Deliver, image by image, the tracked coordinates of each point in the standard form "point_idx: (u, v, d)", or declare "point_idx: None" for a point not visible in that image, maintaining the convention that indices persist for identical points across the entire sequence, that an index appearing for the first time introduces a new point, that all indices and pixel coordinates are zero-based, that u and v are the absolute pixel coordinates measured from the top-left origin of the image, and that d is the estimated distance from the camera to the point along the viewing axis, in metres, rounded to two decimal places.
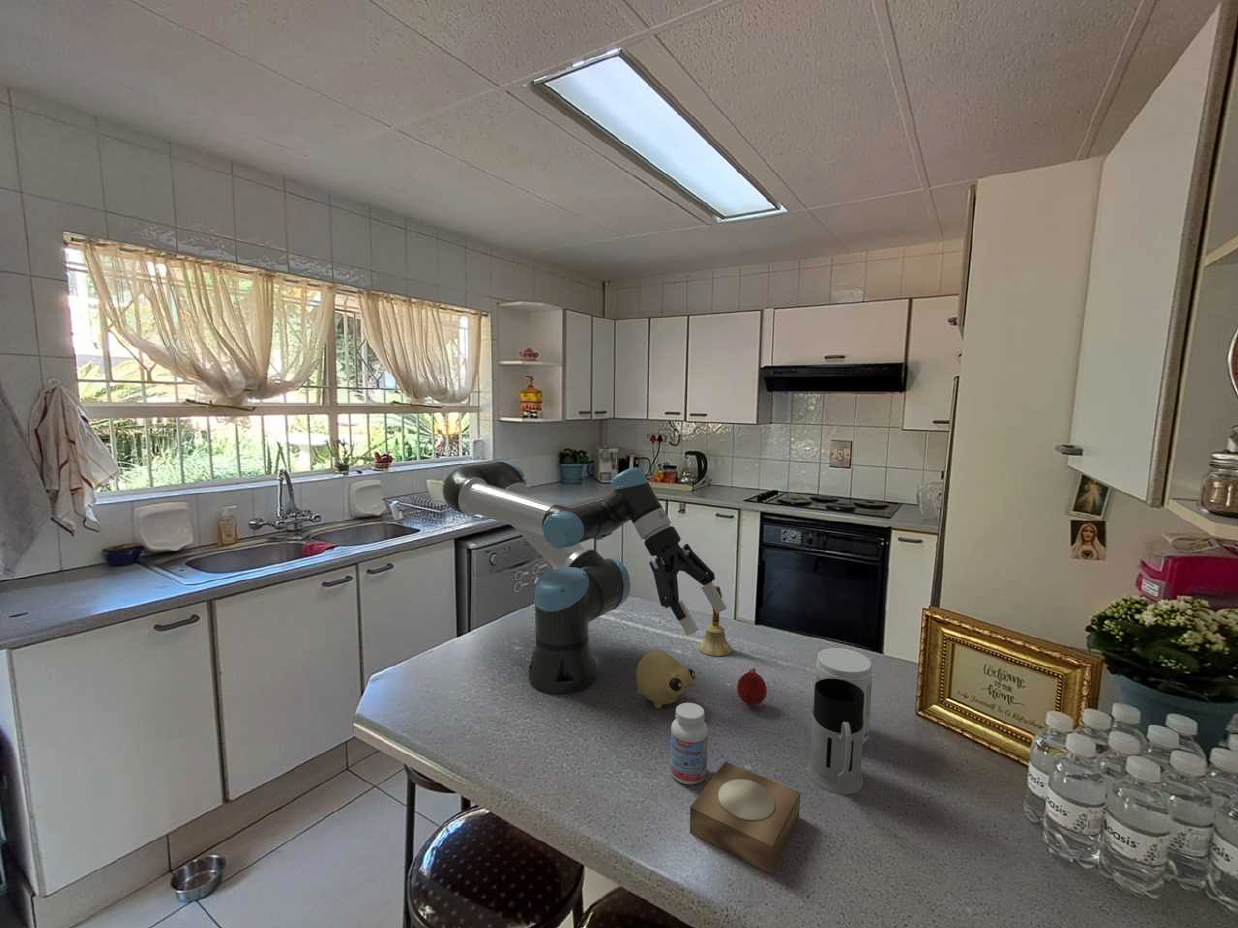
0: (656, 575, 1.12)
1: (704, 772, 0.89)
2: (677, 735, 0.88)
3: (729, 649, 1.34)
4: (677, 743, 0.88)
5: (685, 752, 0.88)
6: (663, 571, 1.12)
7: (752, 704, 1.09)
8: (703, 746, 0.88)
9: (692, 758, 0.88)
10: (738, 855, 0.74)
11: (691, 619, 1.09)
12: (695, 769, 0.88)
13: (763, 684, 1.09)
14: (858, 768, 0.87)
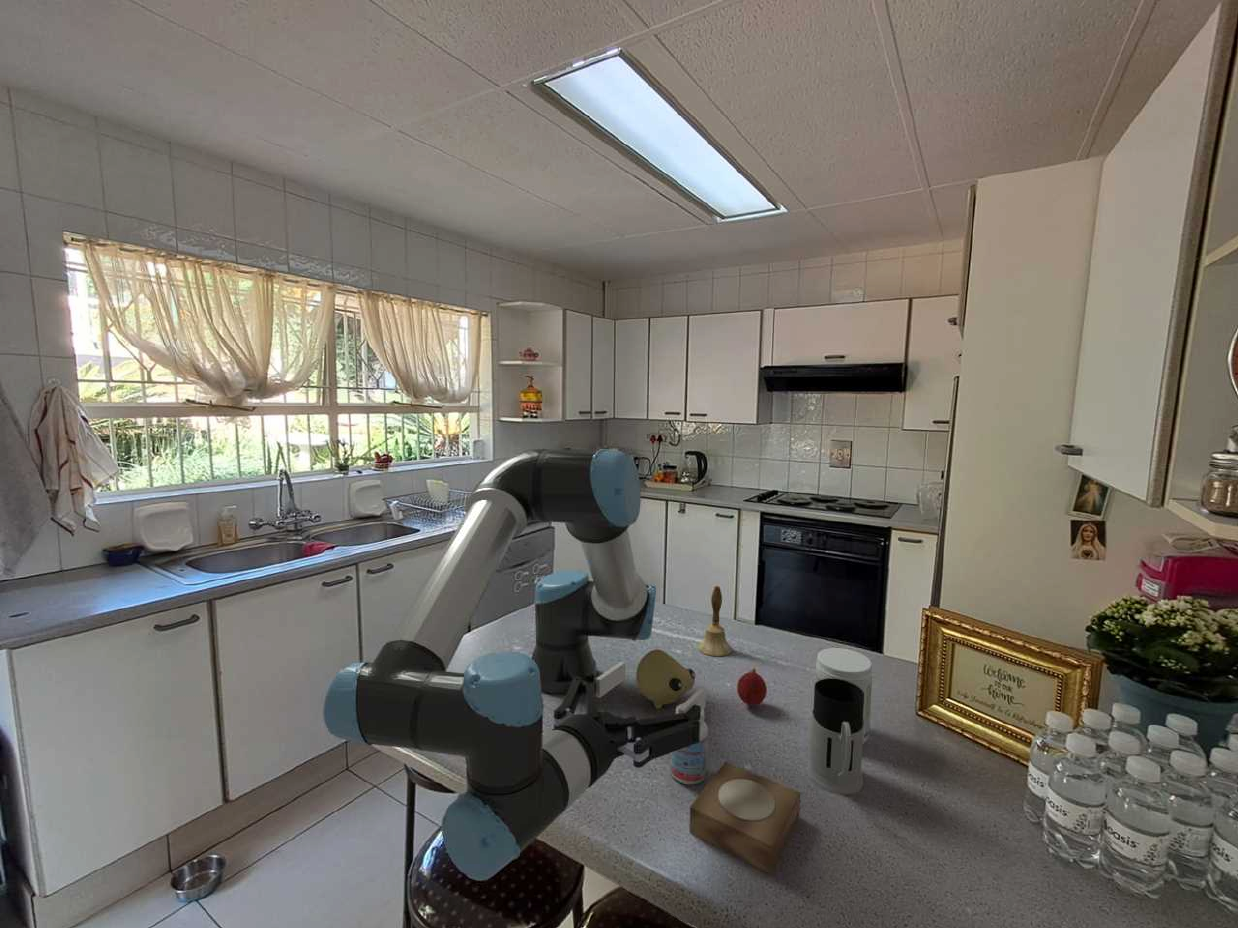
0: None
1: (704, 772, 0.89)
2: None
3: (729, 649, 1.34)
4: None
5: (685, 752, 0.88)
6: None
7: (752, 704, 1.09)
8: (703, 746, 0.88)
9: (692, 758, 0.88)
10: (738, 855, 0.74)
11: None
12: (695, 769, 0.88)
13: (763, 684, 1.09)
14: (858, 768, 0.87)
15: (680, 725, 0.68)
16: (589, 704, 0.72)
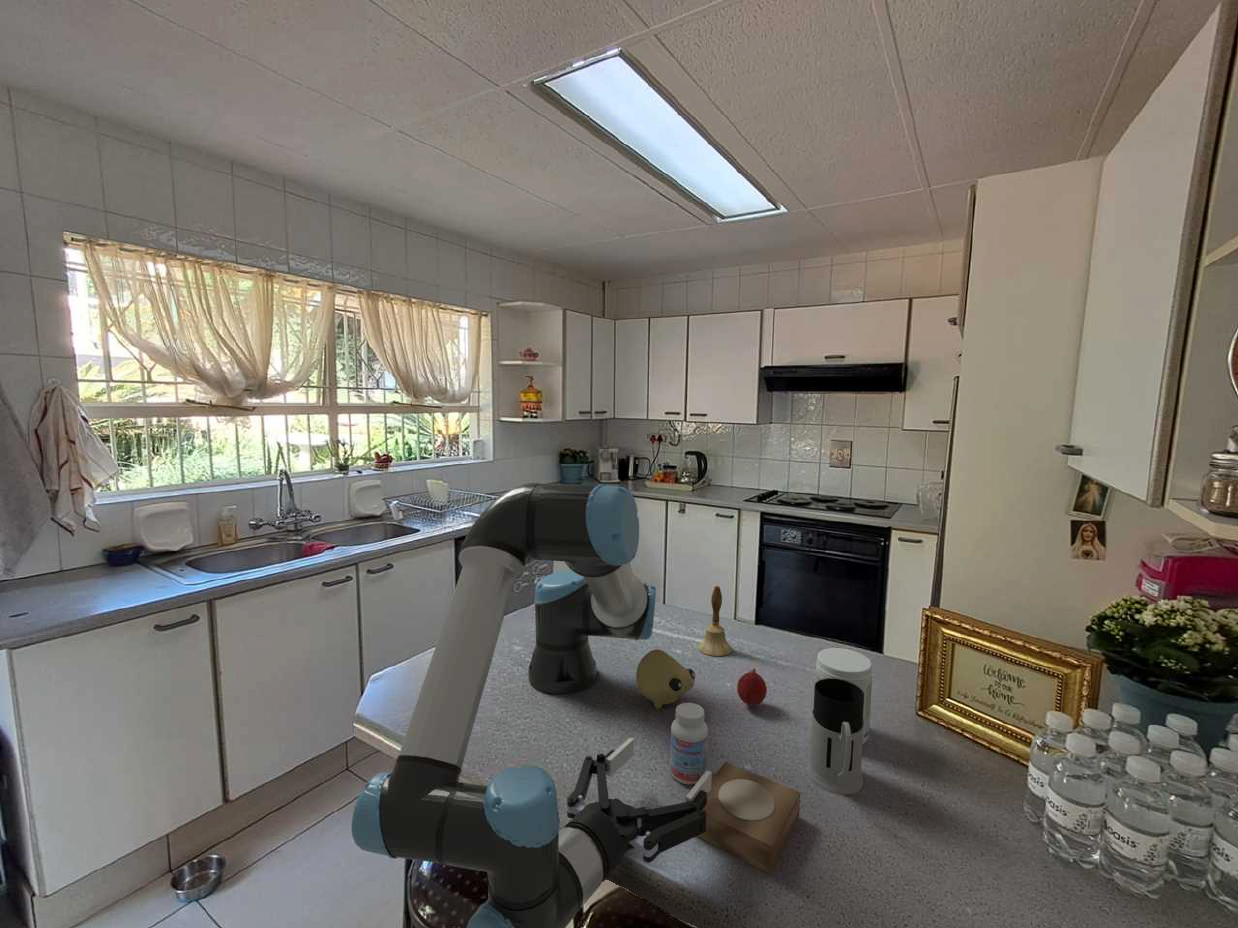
0: None
1: (704, 772, 0.89)
2: (677, 734, 0.88)
3: (729, 649, 1.34)
4: (677, 743, 0.88)
5: (685, 752, 0.88)
6: None
7: (752, 704, 1.09)
8: (703, 746, 0.88)
9: (692, 758, 0.88)
10: (738, 855, 0.74)
11: None
12: (695, 769, 0.88)
13: (763, 684, 1.09)
14: (858, 768, 0.87)
15: (687, 816, 0.72)
16: (600, 791, 0.76)
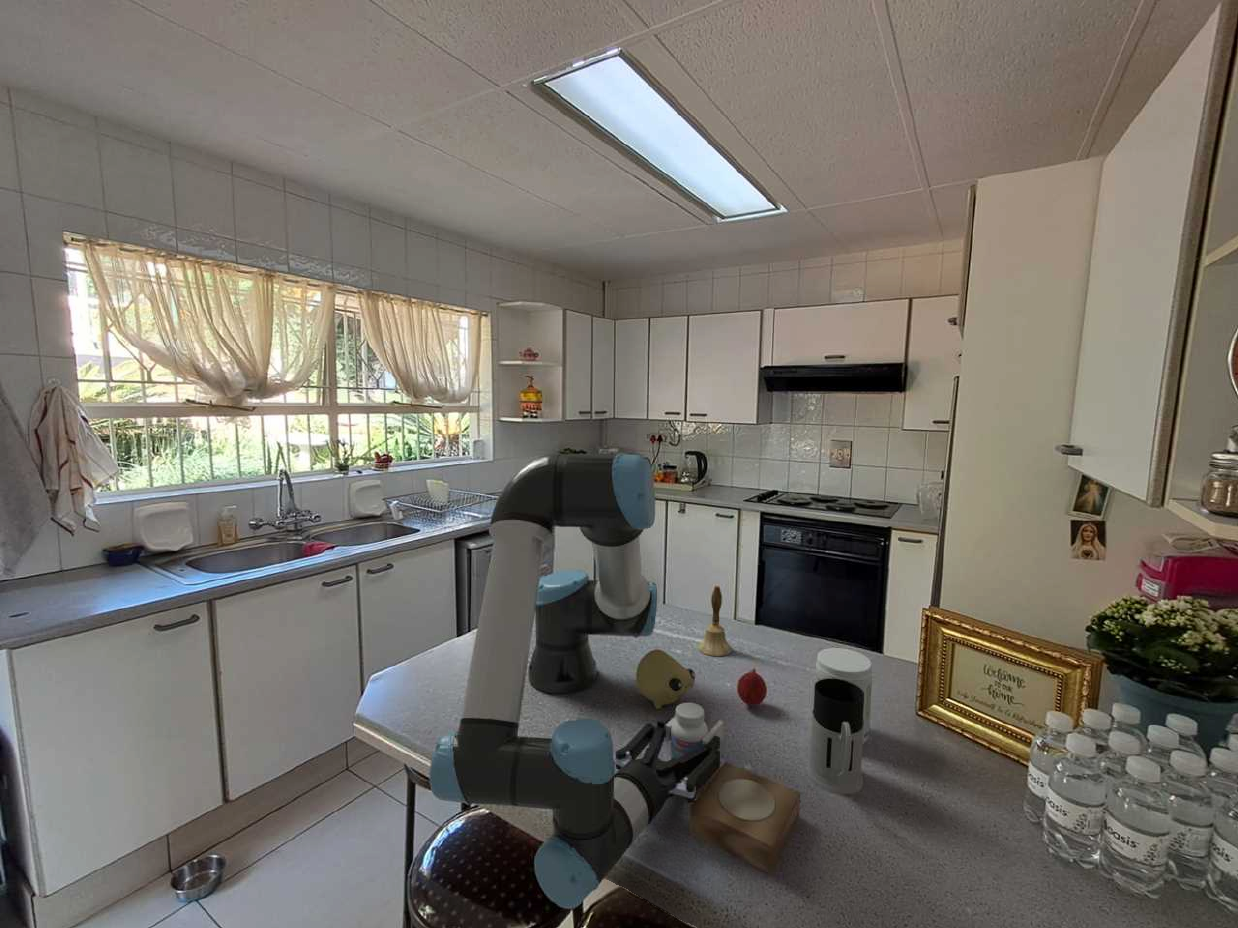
0: None
1: None
2: (677, 734, 0.88)
3: (729, 649, 1.34)
4: (677, 743, 0.88)
5: (685, 752, 0.88)
6: None
7: (752, 704, 1.09)
8: None
9: None
10: (738, 855, 0.74)
11: None
12: None
13: (763, 684, 1.09)
14: (858, 768, 0.87)
15: (707, 757, 0.83)
16: (647, 750, 0.84)
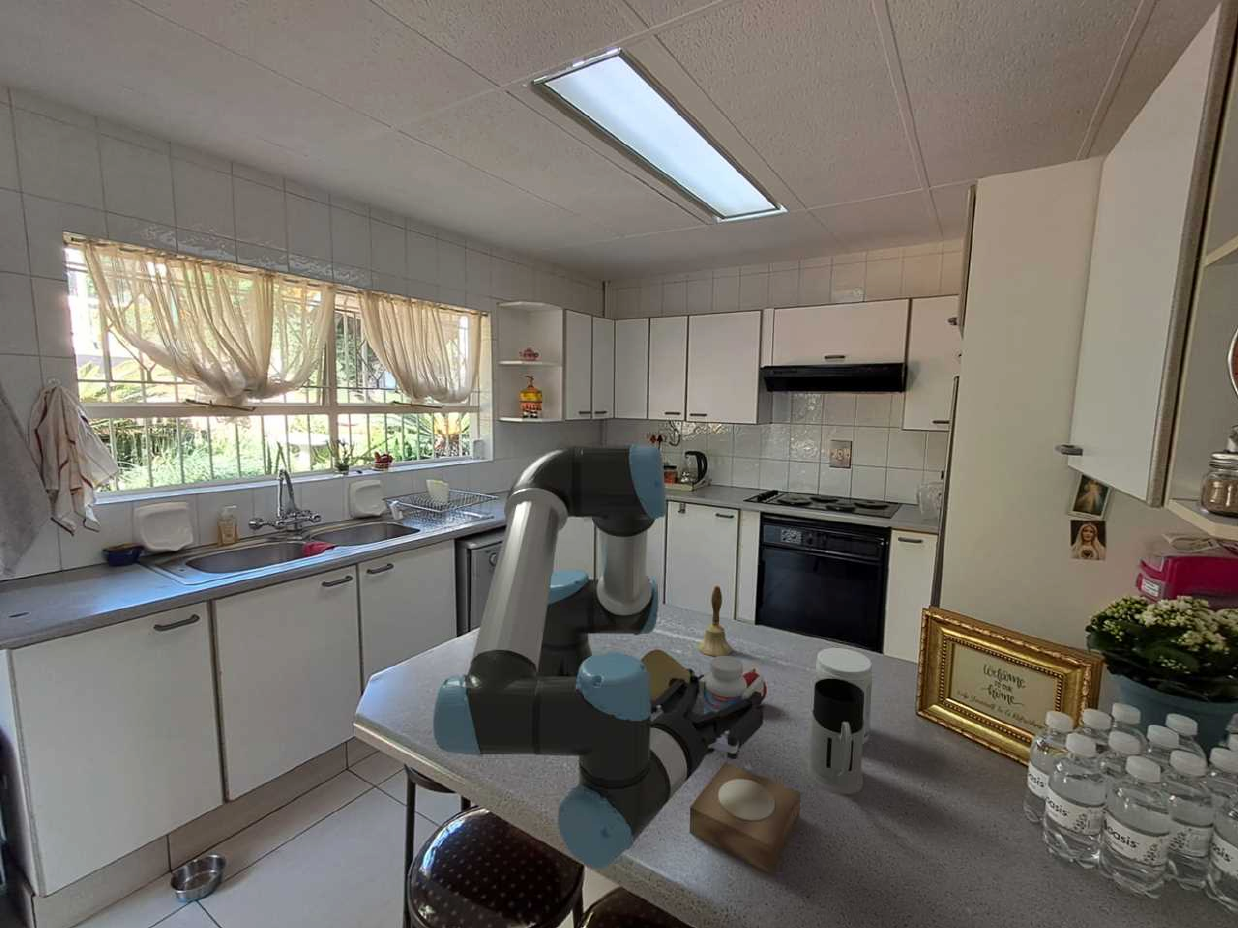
0: None
1: None
2: (713, 689, 0.79)
3: (729, 649, 1.34)
4: (713, 699, 0.79)
5: None
6: None
7: None
8: None
9: None
10: (738, 855, 0.74)
11: None
12: None
13: None
14: (858, 768, 0.87)
15: (750, 712, 0.74)
16: (681, 703, 0.75)
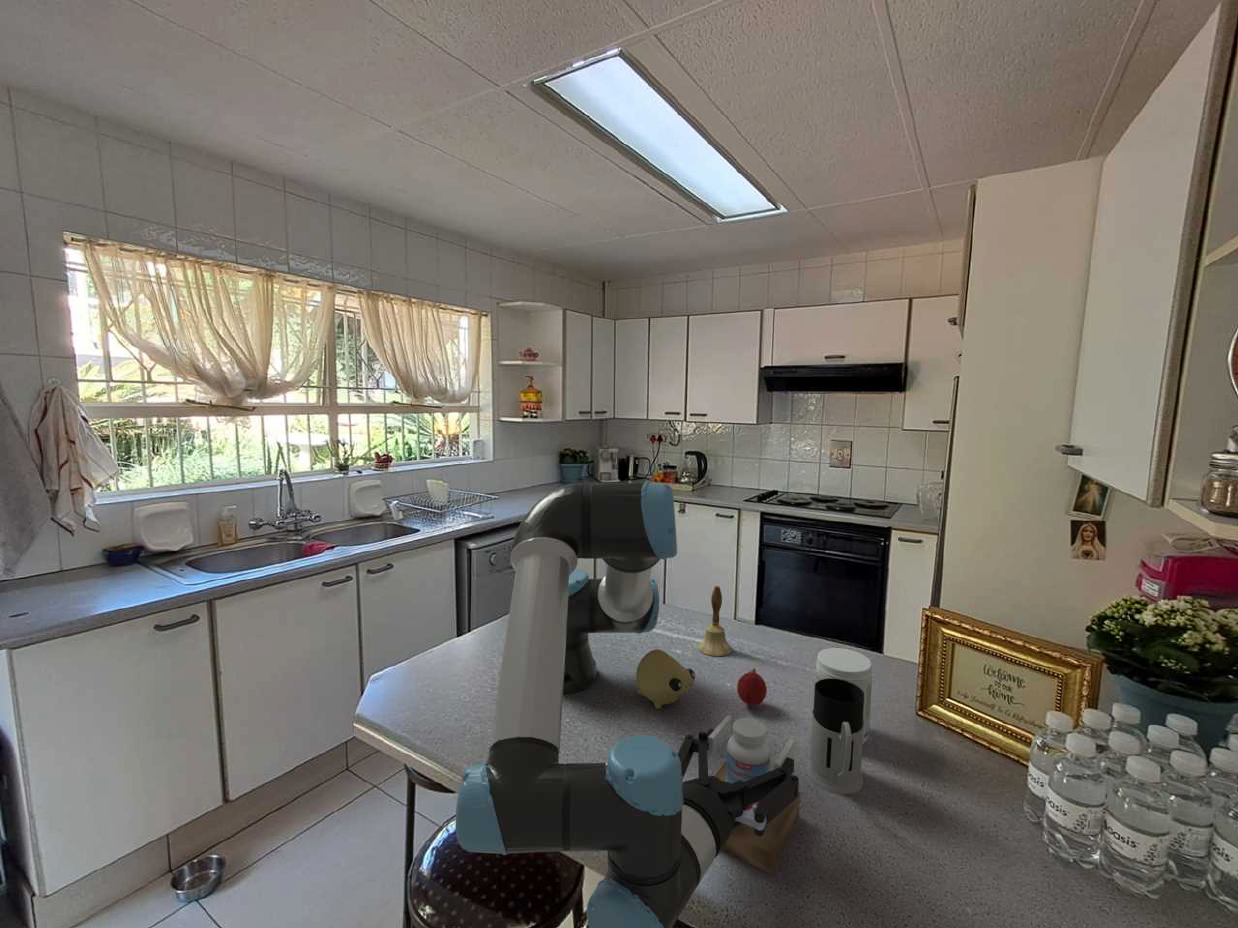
0: None
1: None
2: (736, 755, 0.77)
3: (729, 649, 1.34)
4: (736, 765, 0.77)
5: (746, 776, 0.76)
6: None
7: (752, 704, 1.09)
8: (766, 769, 0.77)
9: None
10: (738, 855, 0.74)
11: None
12: None
13: (763, 684, 1.09)
14: (858, 768, 0.87)
15: (783, 784, 0.71)
16: (700, 768, 0.73)
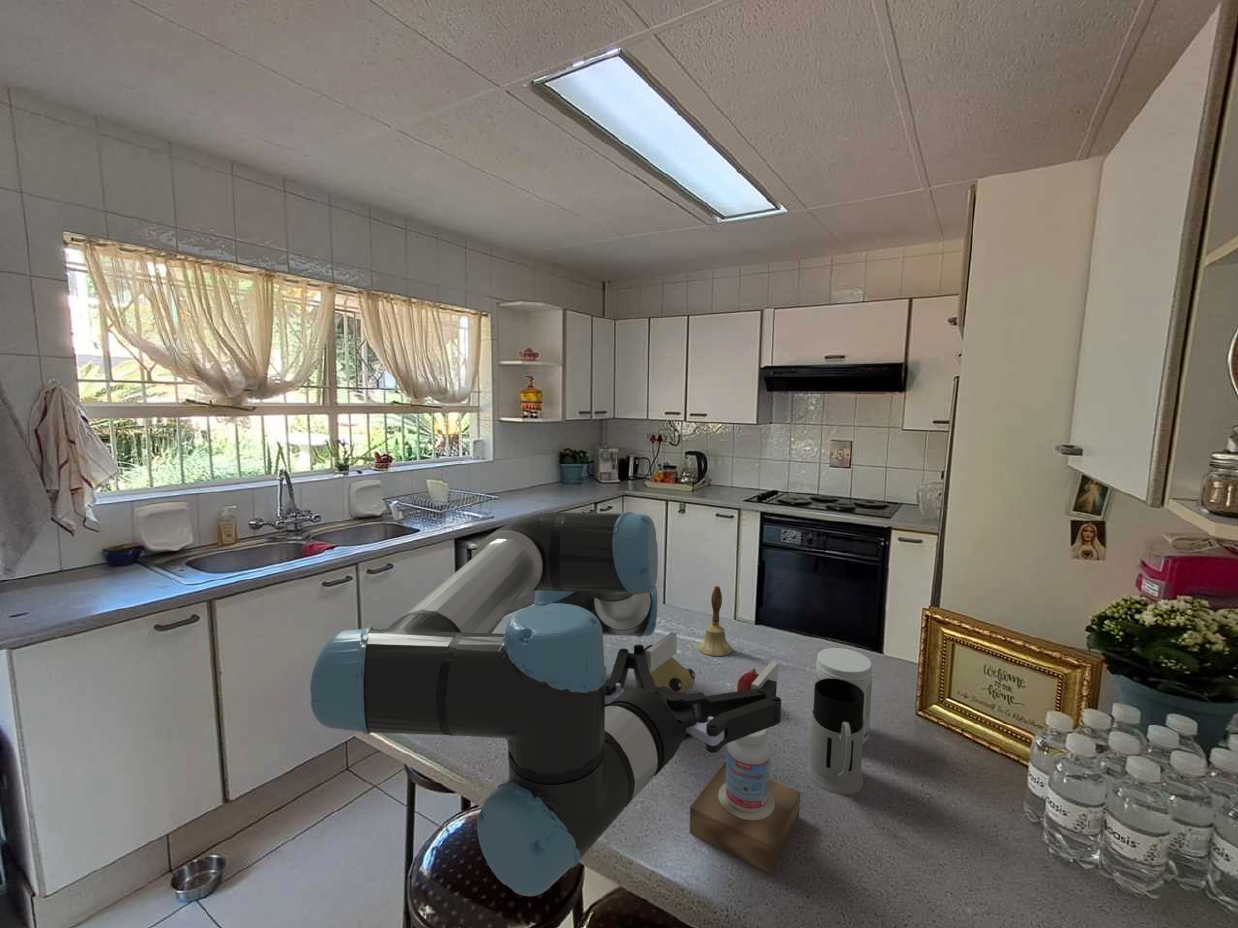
0: None
1: (766, 798, 0.78)
2: (736, 755, 0.77)
3: (729, 649, 1.34)
4: (736, 765, 0.77)
5: (746, 776, 0.76)
6: None
7: None
8: (766, 768, 0.77)
9: (754, 782, 0.76)
10: (738, 855, 0.74)
11: None
12: (756, 795, 0.76)
13: None
14: (858, 768, 0.87)
15: (758, 702, 0.56)
16: (644, 678, 0.60)
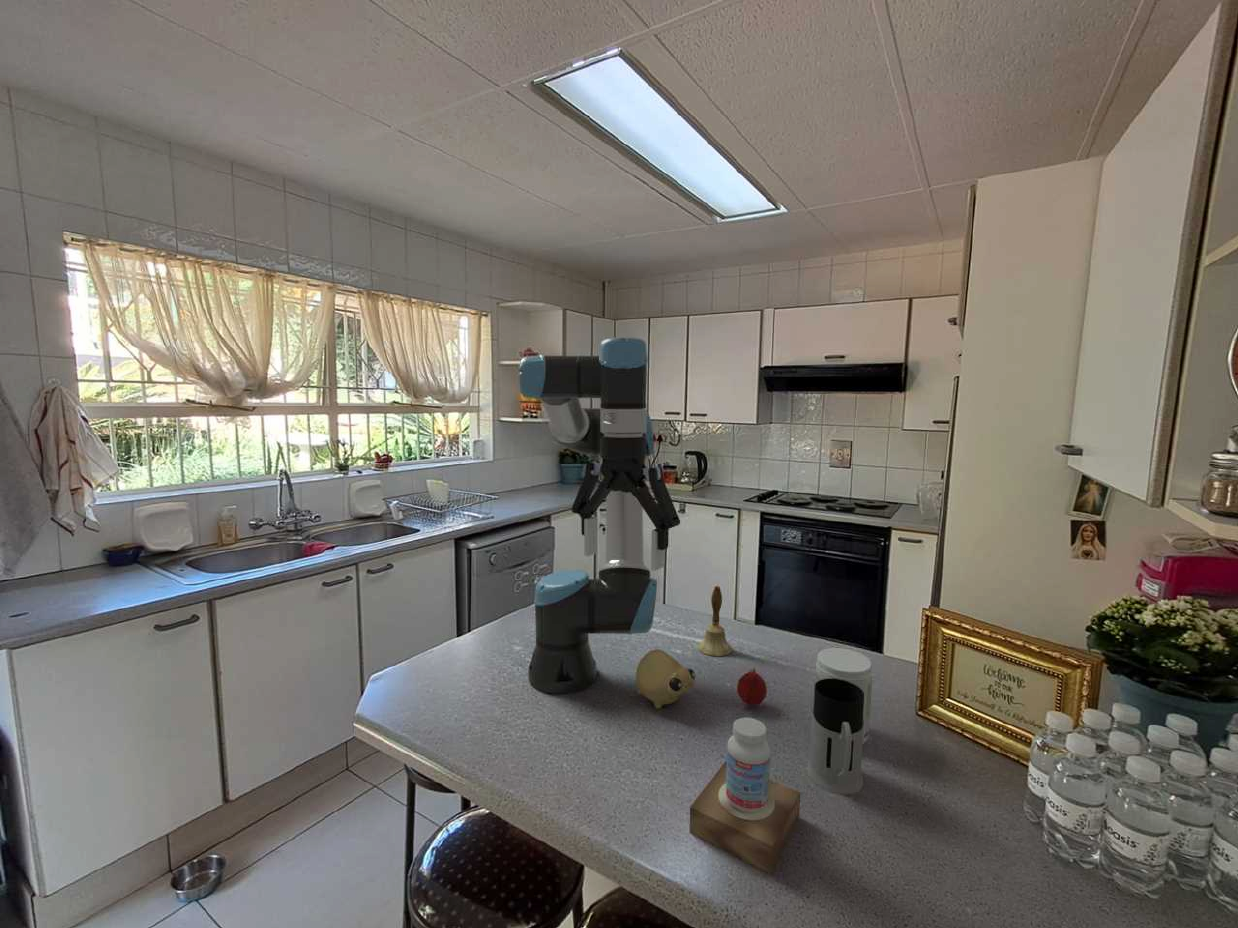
0: None
1: (766, 798, 0.78)
2: (736, 755, 0.77)
3: (729, 649, 1.34)
4: (736, 765, 0.77)
5: (746, 776, 0.76)
6: (585, 480, 0.93)
7: (752, 704, 1.09)
8: (766, 768, 0.77)
9: (754, 782, 0.76)
10: (738, 855, 0.74)
11: (585, 542, 0.95)
12: (756, 795, 0.76)
13: (763, 684, 1.09)
14: (858, 768, 0.87)
15: None
16: None
